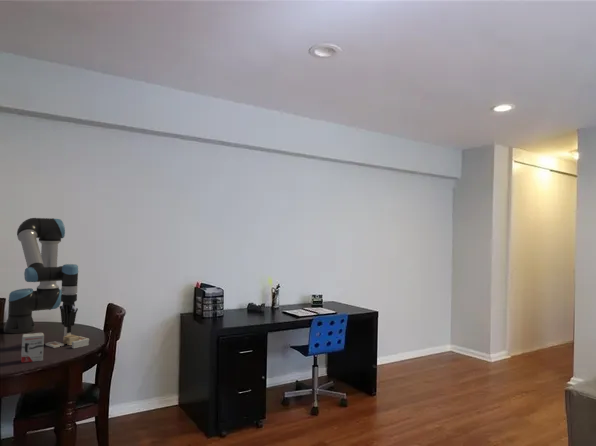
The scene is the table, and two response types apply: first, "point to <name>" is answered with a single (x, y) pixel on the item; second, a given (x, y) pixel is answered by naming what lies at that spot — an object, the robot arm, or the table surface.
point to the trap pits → (57, 344)
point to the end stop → (80, 343)
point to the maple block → (70, 339)
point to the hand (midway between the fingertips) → (67, 338)
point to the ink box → (32, 347)
